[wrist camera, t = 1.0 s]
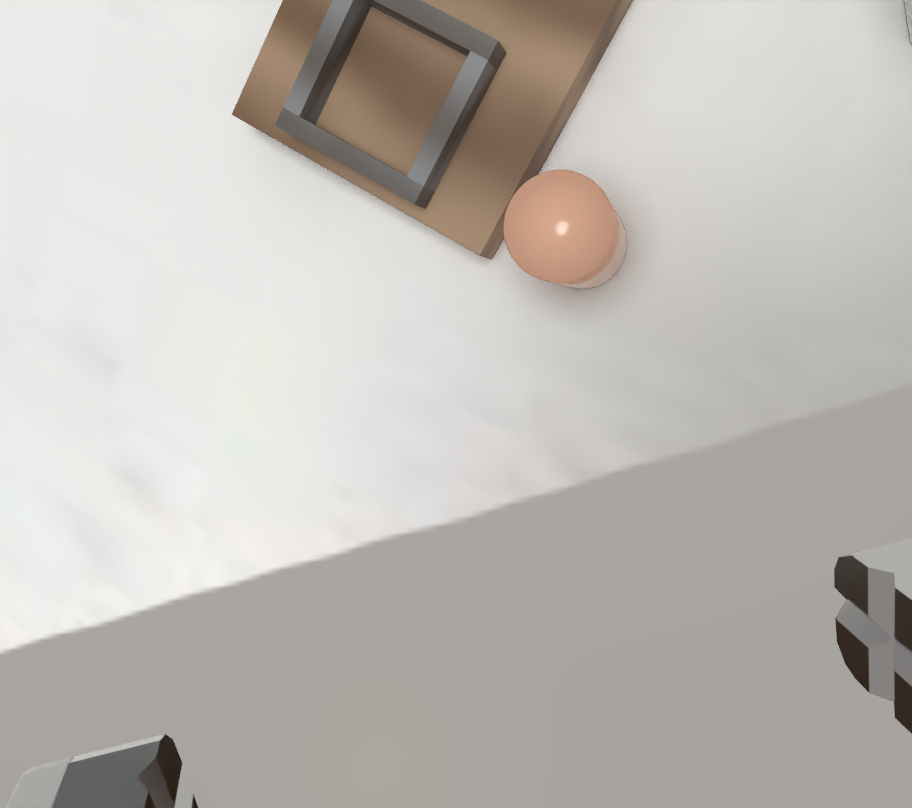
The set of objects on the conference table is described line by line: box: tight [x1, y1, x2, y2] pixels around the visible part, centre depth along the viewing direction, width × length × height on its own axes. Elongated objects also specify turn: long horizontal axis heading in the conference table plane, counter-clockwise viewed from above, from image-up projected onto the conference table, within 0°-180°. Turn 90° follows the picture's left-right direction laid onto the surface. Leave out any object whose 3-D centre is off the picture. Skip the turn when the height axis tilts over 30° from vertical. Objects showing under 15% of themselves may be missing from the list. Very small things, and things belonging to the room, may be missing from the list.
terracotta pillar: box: [504, 170, 627, 289], centre depth 39 cm, size 5×5×10 cm
